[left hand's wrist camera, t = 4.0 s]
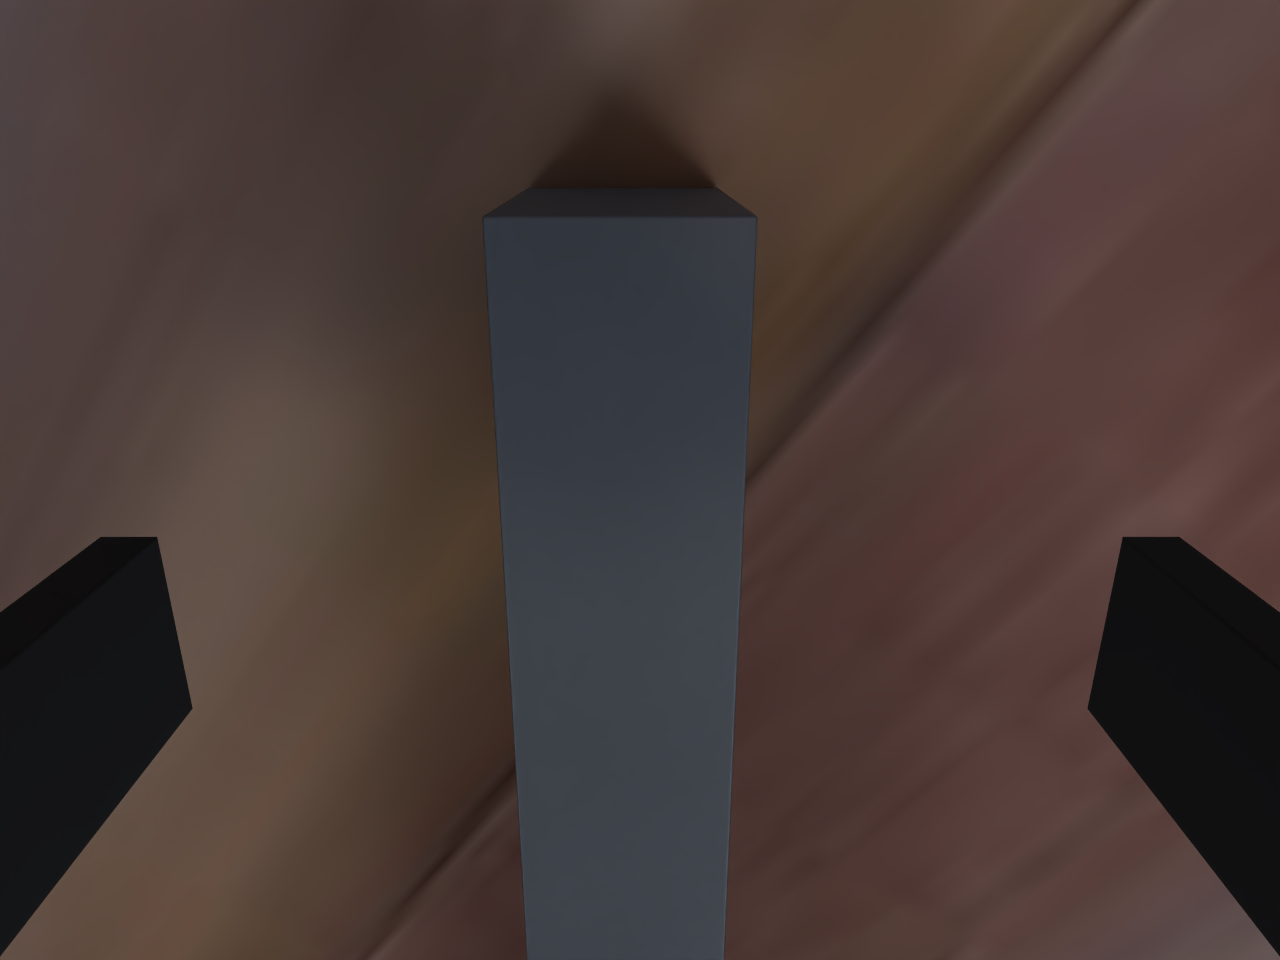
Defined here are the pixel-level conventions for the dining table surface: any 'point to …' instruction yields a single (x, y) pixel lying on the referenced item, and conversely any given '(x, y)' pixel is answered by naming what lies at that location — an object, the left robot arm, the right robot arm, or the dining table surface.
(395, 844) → the dining table surface
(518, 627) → the post
